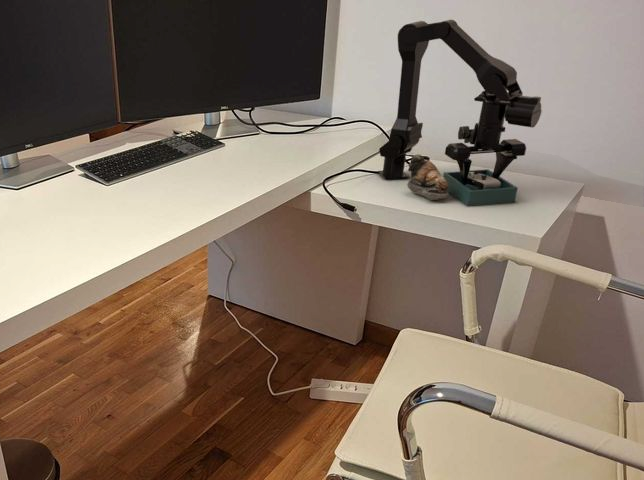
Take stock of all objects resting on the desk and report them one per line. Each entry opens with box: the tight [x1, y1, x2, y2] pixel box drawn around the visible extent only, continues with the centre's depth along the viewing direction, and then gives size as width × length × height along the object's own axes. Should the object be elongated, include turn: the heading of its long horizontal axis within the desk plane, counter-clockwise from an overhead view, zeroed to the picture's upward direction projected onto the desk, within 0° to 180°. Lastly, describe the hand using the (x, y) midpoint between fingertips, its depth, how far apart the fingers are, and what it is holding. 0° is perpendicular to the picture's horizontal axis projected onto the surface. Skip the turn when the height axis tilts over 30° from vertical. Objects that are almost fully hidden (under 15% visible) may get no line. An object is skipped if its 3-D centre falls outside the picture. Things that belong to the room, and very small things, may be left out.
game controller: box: [461, 171, 501, 190], centre depth 173 cm, size 10×5×6 cm
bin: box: [442, 168, 519, 207], centre depth 174 cm, size 15×12×4 cm
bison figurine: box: [407, 153, 449, 201], centre depth 172 cm, size 12×7×10 cm, turn 33°
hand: (478, 182), depth 173 cm, fingers closed on game controller, 8 cm apart
